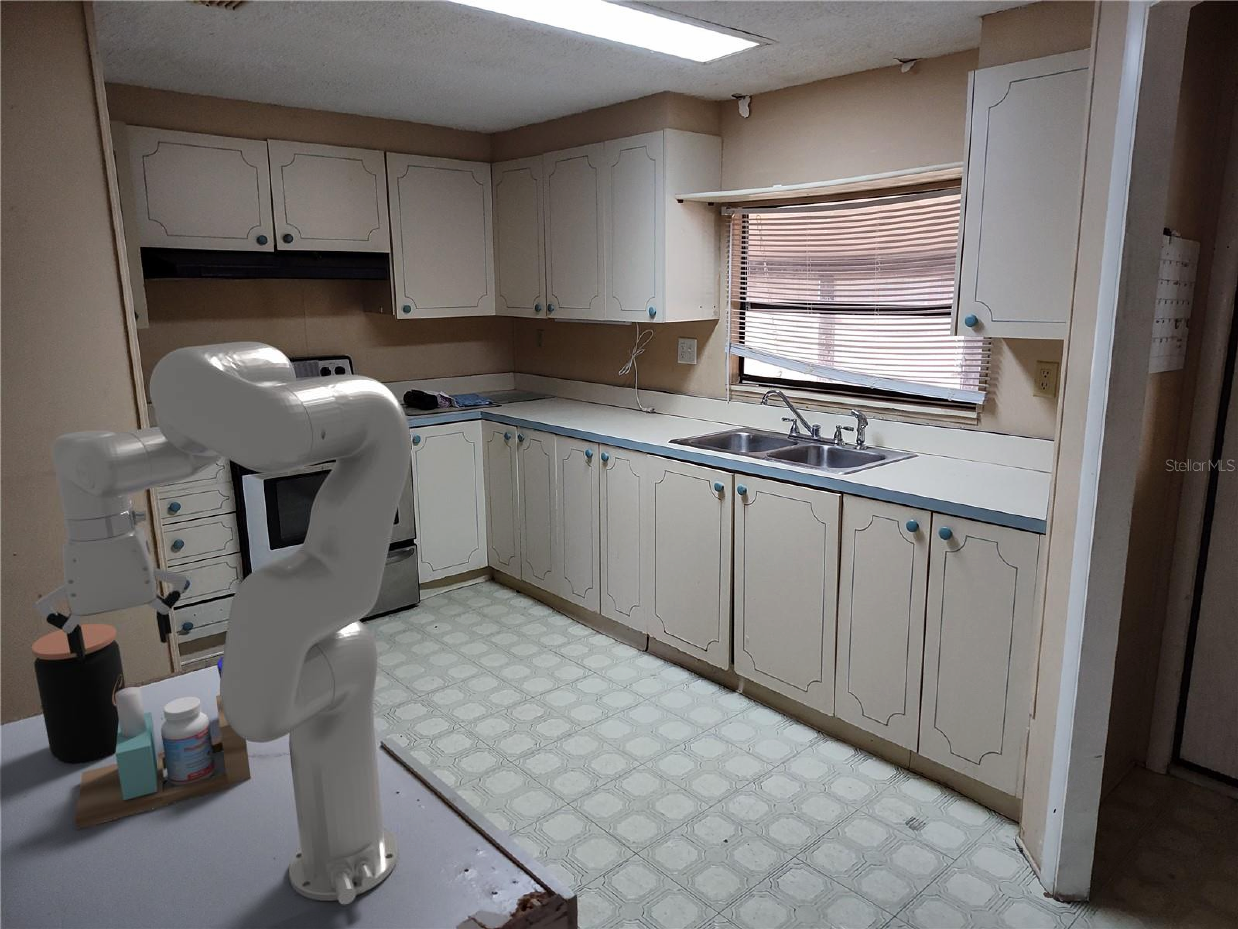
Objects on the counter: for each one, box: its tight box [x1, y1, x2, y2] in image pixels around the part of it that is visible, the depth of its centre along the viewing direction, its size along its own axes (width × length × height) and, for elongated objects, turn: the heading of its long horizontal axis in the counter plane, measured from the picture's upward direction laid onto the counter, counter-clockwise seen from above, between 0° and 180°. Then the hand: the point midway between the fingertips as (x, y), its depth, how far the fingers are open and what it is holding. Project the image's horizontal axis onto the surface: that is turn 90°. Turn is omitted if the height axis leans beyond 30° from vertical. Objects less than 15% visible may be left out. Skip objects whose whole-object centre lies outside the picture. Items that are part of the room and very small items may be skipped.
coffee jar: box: [30, 623, 127, 765], centre depth 124 cm, size 11×11×18 cm
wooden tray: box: [74, 694, 252, 831], centre depth 116 cm, size 12×21×9 cm, turn 118°
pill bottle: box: [160, 696, 216, 786], centre depth 117 cm, size 6×6×11 cm
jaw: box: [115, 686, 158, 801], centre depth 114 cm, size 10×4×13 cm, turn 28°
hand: (123, 648), depth 111 cm, fingers open, 9 cm apart
